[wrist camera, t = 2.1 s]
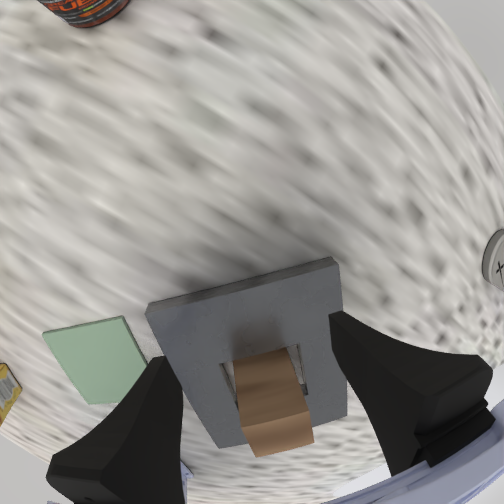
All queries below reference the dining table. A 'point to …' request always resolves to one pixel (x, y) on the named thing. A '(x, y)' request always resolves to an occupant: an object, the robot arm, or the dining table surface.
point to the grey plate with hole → (253, 341)
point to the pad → (98, 358)
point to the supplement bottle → (84, 10)
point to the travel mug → (495, 261)
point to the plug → (271, 403)
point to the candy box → (7, 391)
